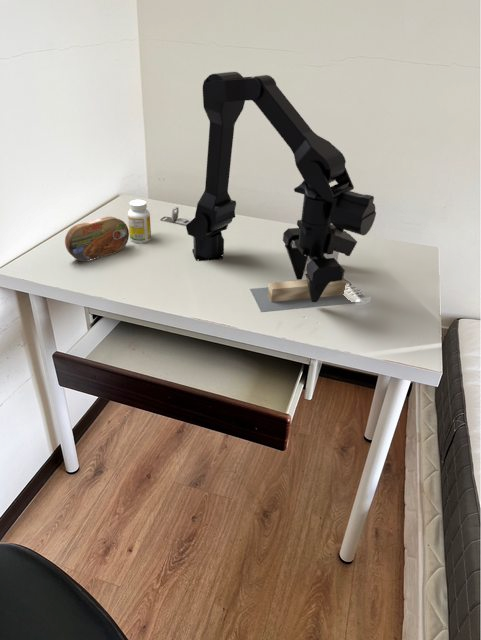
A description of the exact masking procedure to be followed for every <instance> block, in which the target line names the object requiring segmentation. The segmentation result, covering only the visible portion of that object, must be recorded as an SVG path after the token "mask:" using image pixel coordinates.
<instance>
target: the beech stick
mask: <svg viewBox="0 0 481 640" xmlns="http://www.w3.org/2000/svg"><path fill="white" fill-rule="evenodd" d="M345 281H346V280H345V279H343V280H342V281H334V282H330V283H329V284H328V285H327V286H326V288H325V289H324V291H323V293H322V294H321V296H320V297H328V296H339V295H343V294H344V290H345V285H346V282H347V281H346V282H345ZM267 287H268V297H269V299H270V301H271V302H275V301H286V300H296V299H307V298H311V297H310V293H309V289H308V284H307V280H306V279H301V280H288V281H279V282H268V286H267Z"/></svg>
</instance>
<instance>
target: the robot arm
mask: <svg viewBox="0 0 481 640" xmlns="http://www.w3.org/2000/svg"><path fill="white" fill-rule="evenodd" d="M246 101H252V102H253V103H254V104H255V105H256V107H257V108H258V109H259V110H260V112H261V113H262V114H263V116H264V117H265V118H266V119H267V121H268V122H269V123H270V124H271V126H272V127H273V128H274V129H275V131H276V132H277V134H278V135H279V136H280V137H281V138H282V140H283V141H284V142H285V143H286V145H287V146H288V147H289V148H290V150H291V152H292V154H293V157H294V162H295V166H296V168H297V170H298V172H299V174H300V175H301V177H302V178H303V181H302V182H301V183H300V184H299V185H298V186H297V187H294V188H293V191H294V193H297V194H301V195H303V201H302V202H303V203H302V209H301V210H302V211H301V218H300V219H297V222H296V226H297V227H292V228H289V227H288V228H287V229H286V230H284V232H283V236H282V241H283V243H284V247H285V250H286V253H287V255H288V259H289V262H290V264H291V266H292V270H293V273H294V275H295V278H296V281H299V280H303V276H304V273H305V271H306V273H305V280H307V284H308V289H309V293H310V297H311V301H312V302H317V301H318V299H319V298H320V296H321V294H322V293H323V291H324V289H325V288H326V286H327V285H328V284H329V283H330V282H334V281H342V280H344V276H345V269H344V268H343V266H342V265H341V264H340V263H339V261H338V260H337V261H336V260H335V258H325V257H324V254H333V251H336V252H339V254H344V255H345V256H346V257H350V256H351V255H352V252H353V251H354V249H355V248H356V245H357V243H358V241H357V240H356V239H355V238H354V237H353V236H352V235H351V234H350V233H349V232H351V233H354V234H357V235H361V236H366V235H367V234H368V233H369V232H370V230H371V229H372V227H373V225H374V222H375V220H376V215H377V212H376V205H375V203H374V200H375V196H374V195H371V194H362V193H359V192H356V191H353V190H354V188H355V187H354V184H353V182H352V180H351V176H350V174H349V173H348V170H347V168H346V163H347V161H346V158H345V156H344V154H343V153H342V152H341V151H340V149H338V148H337V147H336V146H335V145H334V144H333V143H331V142H330V141H329V140H327V139H325V138H324V137H322V136H320V135H318V134H317V133H315V131H313V130H312V128H311V127H310V125H308V124H307V122H306V121H305V119H304V118H303V117H302V116H301V114H300V113H299V111H298V110H297V109H296V108H295V107H294V106H293V104H292V103H291V101H289V99H288V98H287V97H286V95H285V94H284V93H283V91H282V90H281V89H280V87H278V85H277V82H276V80H275V78H273V77H272V76H271V75H268V74H264V75H256V76H243V75H242V74H241V73H239V72H238V71H228V72H227V71H225V72H218V73H211V74H209V75H208V76H207V77H206V78H205V79H204V80H203V83H202V102H203V109H204V112H205V114H206V116H207V118H208V120H209V129H208V143H207V158H206V172H205V173H206V174H205V184H204V185H205V188H204V191H203V193H202V194H201V197H200V198H199V200H198V201H197V204H196V209H195V213H194V217H193V219H191V220H190V222H189V223H188V222H187V223H188V224H187V225H186V226H185V228H186V229H185V230H186V231H187V235H188V236H190V237H192V239H193V248H192V251H191V252H192V254H193V258H194V259H195V261H196V262H207V261H216V260H217V261H220V260H224V255H225V251H224V250H225V248H224V247H225V239H224V237H223V233H222V232H223V231H227V229H228V226H229V225H230V224H231V223H232V221H233V219H234V218H236V212H235V211H236V207H237V201H236V200H234V199H232V198H231V196H230V193H229V183H230V180H229V179H230V172H231V171H230V170H231V165H232V164H231V162H232V155H233V154H232V153H233V144H234V143H233V142H234V132H235V124H236V122H237V121H238V119H239V117H240V115H241V114H242V112H243V110H244V107H245V102H246ZM333 182H336V184H334V185H330V184H332V183H333ZM347 231H349V232H347ZM308 256H309V257H310V258H311V261H310V262H309V263H308V264H307V268H306V270H305V266H306V262H307V258H308Z"/></svg>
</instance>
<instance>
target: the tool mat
mask: <svg viewBox="0 0 481 640" xmlns="http://www.w3.org/2000/svg"><path fill="white" fill-rule="evenodd" d="M249 290H250V292H251V294H252V296H253V299H254V300H255V302H256V304H257V306H258V308H259V312H260V313H267V312H276V311H289V310H298V309H308V308H316V307H327V306H337V305H339V306H340V305H345V304H346V305H348V304H355V303H354V302H351V301H350V300H348V299H347V298H346V297H345V296H344V295H339V296H328V297H320V298H319V299H318V301H317V302H312V301H311V298H307V299H296V300H286V301H275V302H271V301H270V299H269V297H268V286H267V287H257V288H256V287H255V288H249Z"/></svg>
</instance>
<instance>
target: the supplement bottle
mask: <svg viewBox="0 0 481 640" xmlns="http://www.w3.org/2000/svg"><path fill="white" fill-rule="evenodd" d="M147 207H148V206H147V201H145V200H142V199H133V200H131V201H130V202H129V208H130V209H129V210H128V212H127V220H128V221H127V222H128V230H129V239H130V241H131V242H132V243H136V244H144V243H148V242H150V240H151V239H152V230H151V229H152V227H151V226H152V225H151V213H150V210H148V209H147Z"/></svg>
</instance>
